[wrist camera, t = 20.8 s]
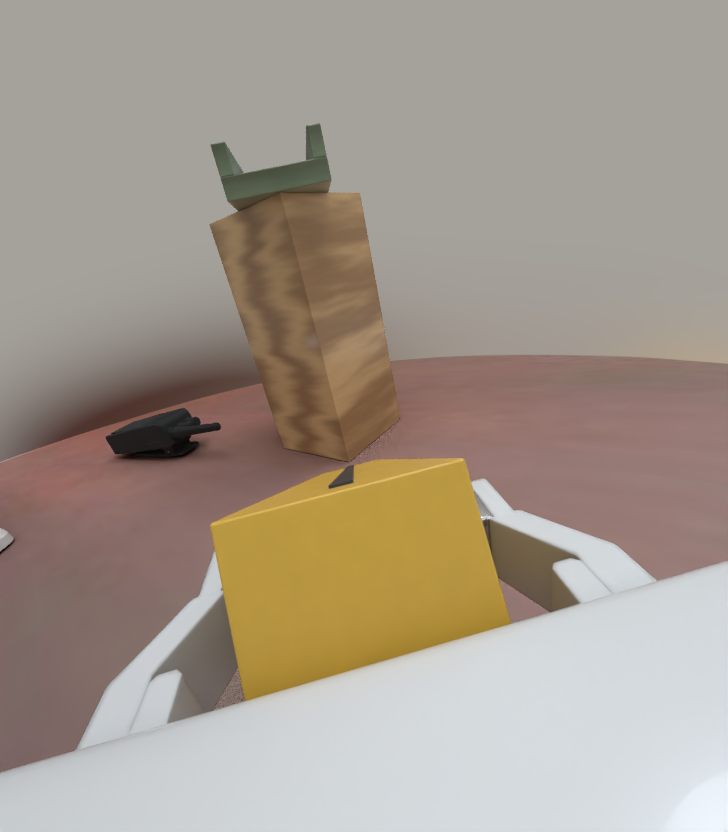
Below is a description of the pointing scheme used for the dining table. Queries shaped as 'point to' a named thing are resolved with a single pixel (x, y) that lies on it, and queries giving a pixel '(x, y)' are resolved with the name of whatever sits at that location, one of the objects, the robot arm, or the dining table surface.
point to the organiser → (308, 301)
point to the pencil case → (355, 571)
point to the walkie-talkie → (159, 435)
